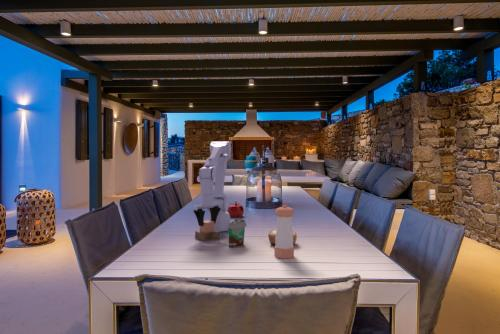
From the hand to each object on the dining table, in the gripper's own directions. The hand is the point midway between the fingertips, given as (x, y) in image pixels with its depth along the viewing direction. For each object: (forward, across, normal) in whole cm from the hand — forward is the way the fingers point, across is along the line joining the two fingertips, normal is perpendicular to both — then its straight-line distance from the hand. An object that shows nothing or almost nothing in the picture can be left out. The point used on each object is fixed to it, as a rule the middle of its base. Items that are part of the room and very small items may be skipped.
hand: (207, 224), depth 172 cm
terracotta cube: (+3, 0, 0) cm, 3 cm away
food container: (+6, -1, +18) cm, 19 cm away
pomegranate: (+6, -50, -29) cm, 58 cm away
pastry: (+6, -14, +31) cm, 35 cm away
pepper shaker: (+6, 0, +42) cm, 43 cm away
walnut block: (+7, 0, 0) cm, 7 cm away
